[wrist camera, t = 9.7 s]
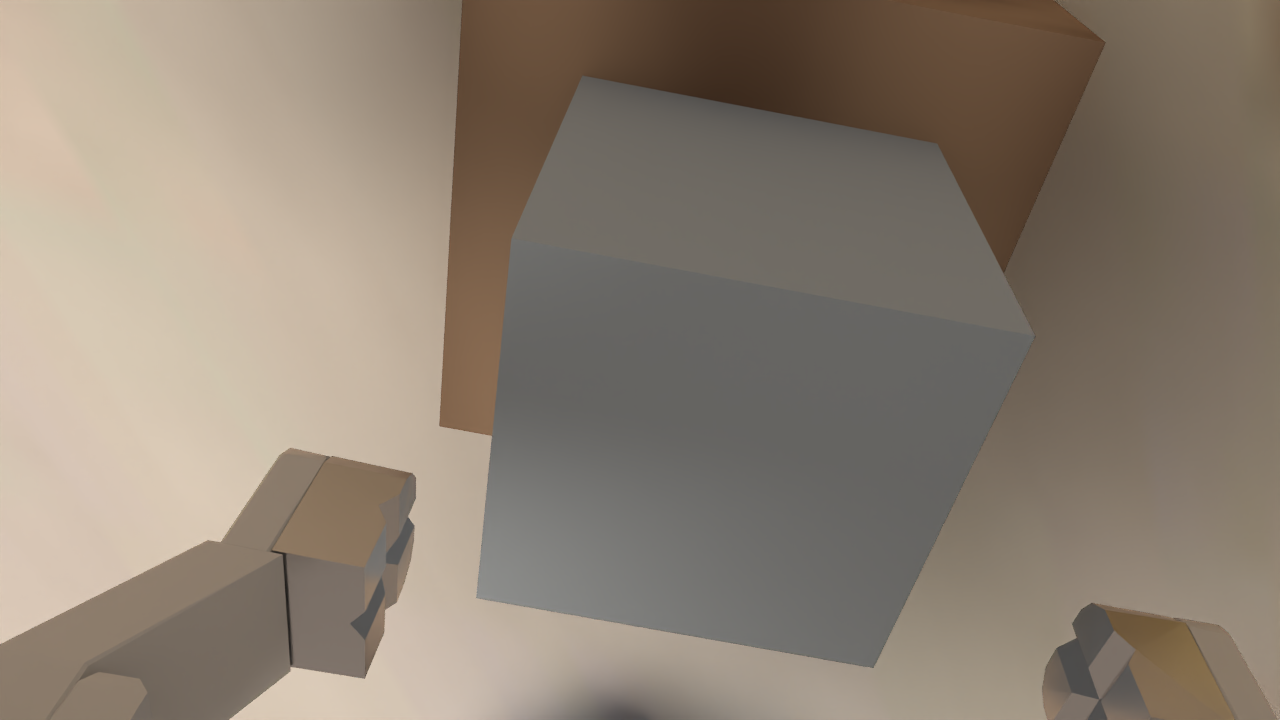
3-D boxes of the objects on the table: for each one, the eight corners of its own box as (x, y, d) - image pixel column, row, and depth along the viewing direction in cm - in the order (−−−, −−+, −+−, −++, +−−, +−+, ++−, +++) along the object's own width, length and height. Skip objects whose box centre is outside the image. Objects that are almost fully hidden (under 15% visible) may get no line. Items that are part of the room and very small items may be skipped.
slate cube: (937, 143, 15) (1035, 336, 10) (835, 422, 19) (873, 668, 14) (582, 75, 15) (511, 237, 10) (543, 368, 19) (476, 598, 14)
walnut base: (1049, -3, 17) (1105, 42, 14) (880, 423, 22) (898, 509, 20) (506, -109, 17) (466, -82, 14) (471, 349, 22) (439, 425, 20)
